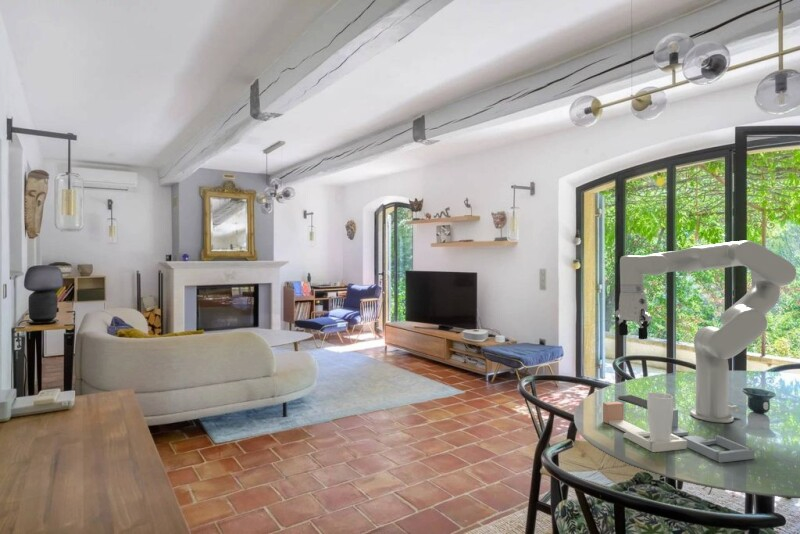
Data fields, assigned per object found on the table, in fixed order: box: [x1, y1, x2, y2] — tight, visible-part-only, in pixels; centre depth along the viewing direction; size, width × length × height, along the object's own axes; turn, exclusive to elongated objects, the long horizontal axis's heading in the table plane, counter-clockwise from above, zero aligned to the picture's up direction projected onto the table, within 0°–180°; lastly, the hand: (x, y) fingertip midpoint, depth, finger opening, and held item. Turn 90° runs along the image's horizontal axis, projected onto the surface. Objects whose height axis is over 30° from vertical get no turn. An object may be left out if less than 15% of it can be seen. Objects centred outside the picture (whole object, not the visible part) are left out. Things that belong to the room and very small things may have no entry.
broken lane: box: [671, 408, 755, 463], centre depth 142 cm, size 11×26×6 cm, turn 13°
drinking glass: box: [646, 391, 675, 442], centre depth 140 cm, size 7×7×15 cm
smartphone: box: [617, 394, 647, 409], centre depth 183 cm, size 7×1×16 cm
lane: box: [602, 401, 688, 453], centre depth 149 cm, size 11×26×6 cm, turn 13°
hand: (633, 337), depth 172 cm, fingers open, 9 cm apart
